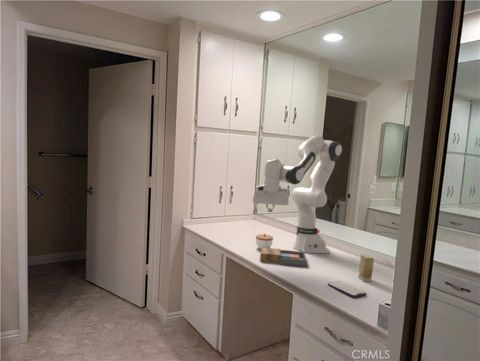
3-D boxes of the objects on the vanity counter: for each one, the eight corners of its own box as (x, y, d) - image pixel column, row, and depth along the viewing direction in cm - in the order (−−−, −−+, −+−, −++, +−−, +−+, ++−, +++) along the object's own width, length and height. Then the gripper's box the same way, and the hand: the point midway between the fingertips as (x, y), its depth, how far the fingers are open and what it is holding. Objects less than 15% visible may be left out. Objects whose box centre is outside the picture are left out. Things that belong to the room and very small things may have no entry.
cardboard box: (279, 256, 199) (280, 249, 199) (280, 263, 187) (280, 255, 187) (261, 254, 200) (261, 247, 200) (260, 261, 189) (260, 253, 188)
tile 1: (289, 254, 195) (289, 258, 195) (290, 256, 190) (289, 261, 190) (298, 254, 194) (298, 259, 195) (299, 257, 190) (298, 262, 190)
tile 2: (289, 258, 195) (289, 254, 195) (289, 261, 190) (290, 256, 190) (280, 257, 196) (280, 253, 196) (280, 260, 191) (281, 255, 191)
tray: (303, 257, 200) (304, 252, 200) (306, 266, 184) (306, 260, 184) (279, 255, 201) (280, 249, 201) (280, 264, 186) (280, 258, 185)
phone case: (326, 286, 160) (353, 299, 147) (326, 283, 160) (353, 296, 146) (339, 283, 165) (367, 296, 151) (340, 280, 165) (367, 292, 151)
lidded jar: (258, 251, 207) (259, 236, 206) (252, 246, 217) (253, 231, 217) (274, 251, 210) (275, 236, 209) (268, 246, 220) (269, 231, 220)
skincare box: (357, 277, 174) (360, 253, 173) (366, 277, 174) (368, 253, 173) (363, 281, 168) (365, 257, 166) (371, 282, 168) (374, 257, 167)
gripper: (289, 188, 197) (287, 212, 198) (254, 186, 198) (252, 209, 200) (290, 189, 191) (288, 214, 192) (253, 187, 192) (252, 211, 194)
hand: (269, 211), depth 196 cm, fingers closed
